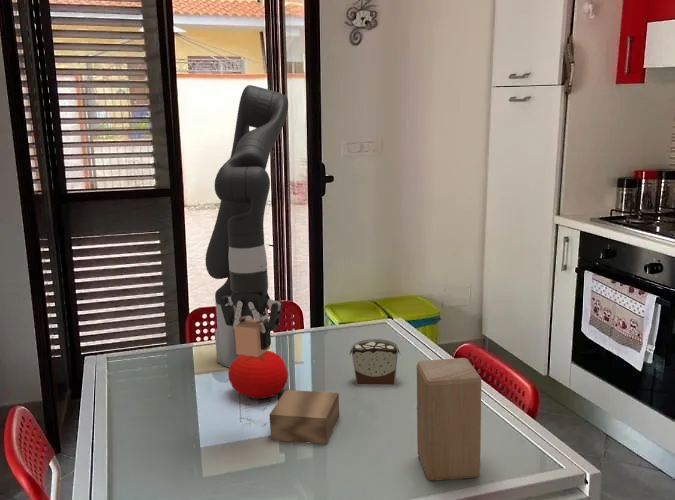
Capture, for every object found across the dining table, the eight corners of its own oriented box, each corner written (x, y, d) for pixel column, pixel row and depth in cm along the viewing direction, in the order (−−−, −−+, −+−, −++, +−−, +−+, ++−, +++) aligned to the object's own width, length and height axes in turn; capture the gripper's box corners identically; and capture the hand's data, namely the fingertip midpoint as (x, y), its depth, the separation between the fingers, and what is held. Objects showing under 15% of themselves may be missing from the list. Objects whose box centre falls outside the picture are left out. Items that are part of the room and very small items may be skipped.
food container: (401, 375, 167) (400, 338, 164) (400, 385, 161) (400, 347, 158) (352, 375, 168) (351, 338, 166) (350, 385, 162) (349, 346, 160)
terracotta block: (236, 354, 135) (234, 326, 133) (249, 345, 139) (247, 318, 138) (257, 357, 133) (255, 328, 131) (270, 348, 137) (268, 320, 136)
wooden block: (416, 454, 129) (415, 358, 125) (466, 451, 130) (467, 355, 125) (427, 483, 119) (427, 380, 115) (481, 479, 120) (483, 376, 116)
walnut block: (271, 441, 137) (269, 414, 136) (287, 414, 148) (286, 389, 147) (327, 445, 134) (326, 418, 133) (339, 418, 146) (338, 392, 145)
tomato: (298, 387, 162) (296, 347, 159) (272, 409, 150) (269, 367, 148) (249, 379, 168) (246, 340, 165) (220, 400, 156) (216, 358, 154)
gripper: (207, 268, 132) (214, 349, 135) (269, 274, 126) (274, 357, 129) (228, 260, 138) (234, 337, 142) (288, 264, 132) (292, 344, 136)
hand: (253, 346), depth 136 cm, fingers closed on terracotta block, 5 cm apart
